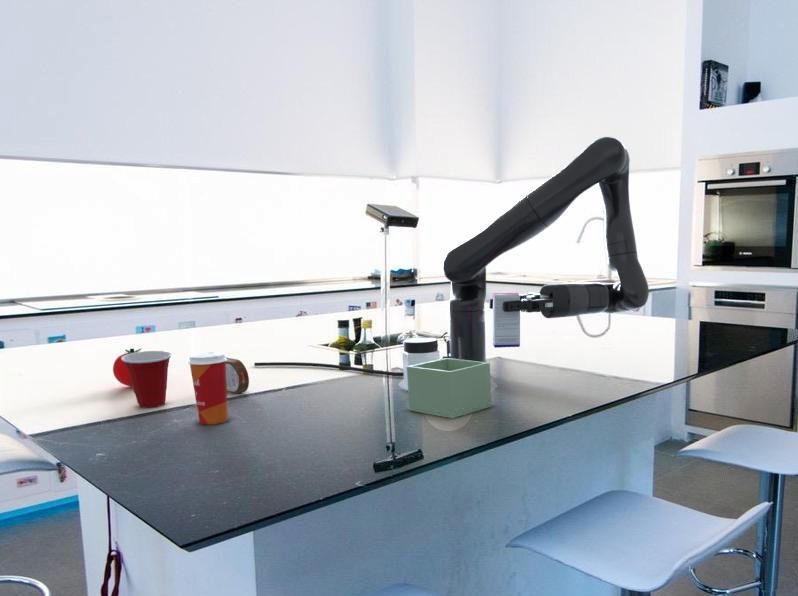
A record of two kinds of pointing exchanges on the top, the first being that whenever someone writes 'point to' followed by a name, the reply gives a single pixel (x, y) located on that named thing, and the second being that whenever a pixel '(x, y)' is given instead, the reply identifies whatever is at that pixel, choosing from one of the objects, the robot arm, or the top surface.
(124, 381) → the tomato
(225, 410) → the paper cup
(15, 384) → the top surface
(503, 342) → the supplement box
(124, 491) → the top surface
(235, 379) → the tin
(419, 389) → the mint green storage bin
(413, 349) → the jar
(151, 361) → the plastic cup
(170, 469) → the top surface
